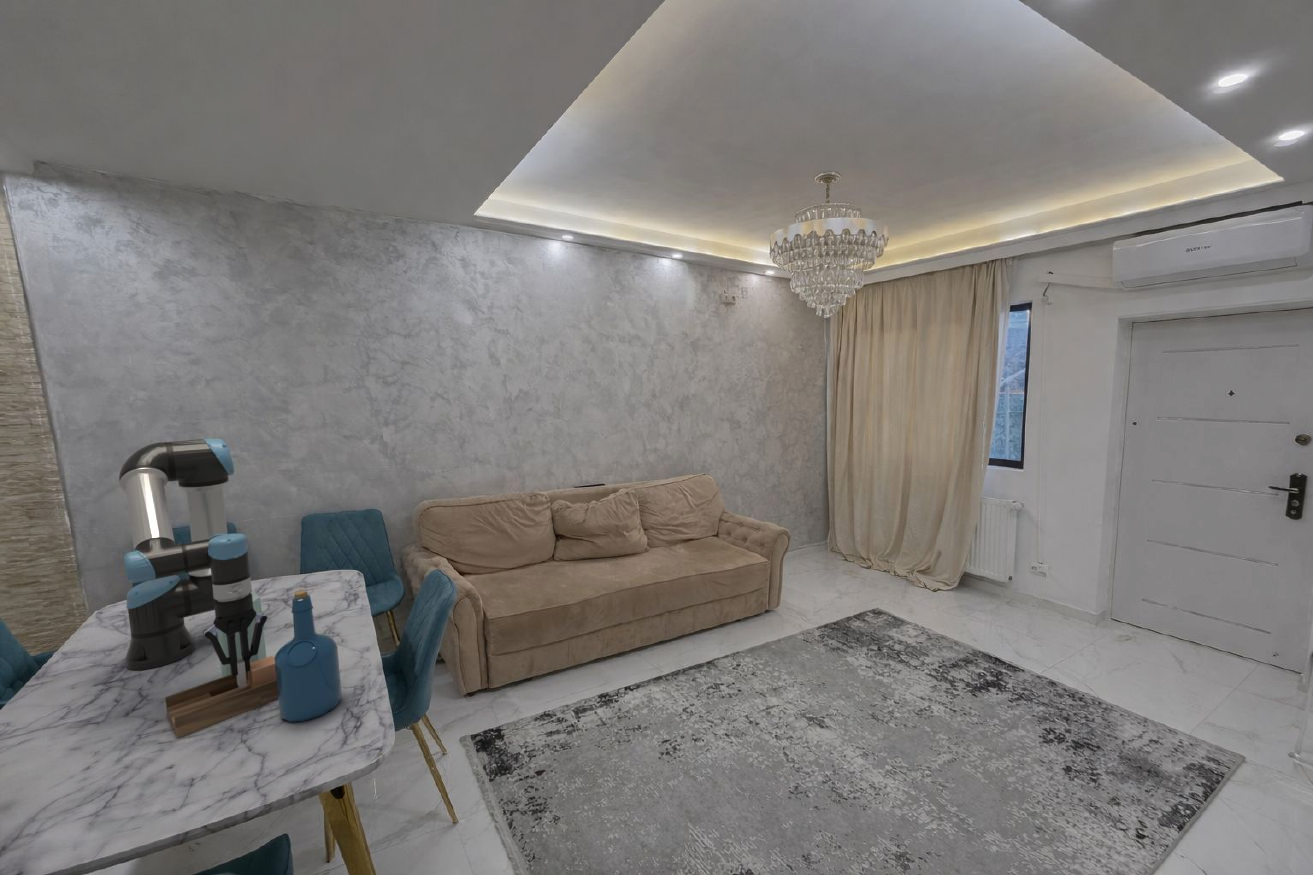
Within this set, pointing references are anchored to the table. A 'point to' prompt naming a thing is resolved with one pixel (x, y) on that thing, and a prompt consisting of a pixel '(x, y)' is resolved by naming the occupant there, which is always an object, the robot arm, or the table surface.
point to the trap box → (215, 703)
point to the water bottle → (223, 639)
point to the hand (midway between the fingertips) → (242, 685)
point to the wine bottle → (307, 667)
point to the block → (262, 671)
